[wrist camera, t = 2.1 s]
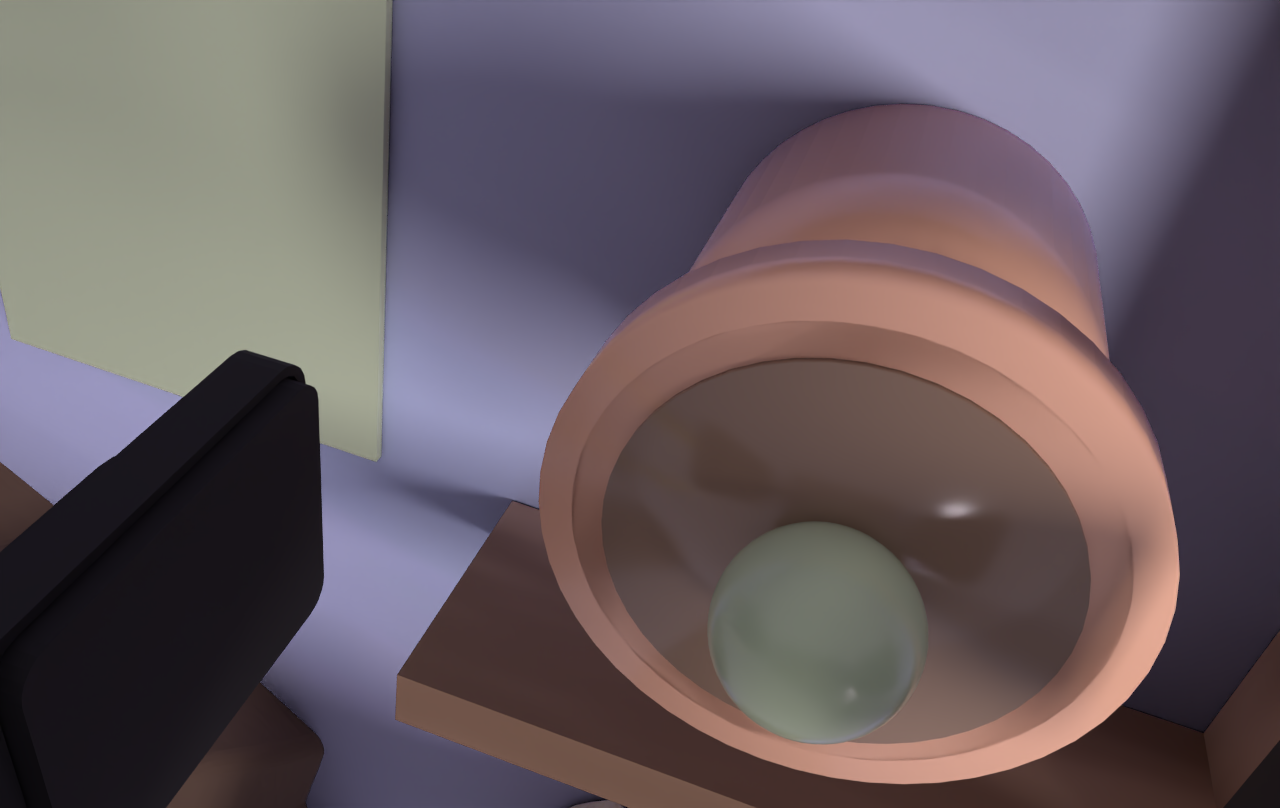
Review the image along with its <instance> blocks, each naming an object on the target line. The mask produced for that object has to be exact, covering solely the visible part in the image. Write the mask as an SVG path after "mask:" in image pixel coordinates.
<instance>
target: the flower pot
mask: <svg viewBox="0 0 1280 808" xmlns="http://www.w3.org/2000/svg"><path fill="white" fill-rule="evenodd" d="M570 808H624V807H622V806H621V805H620V804H618V803H615V802H612V801H607V800H606V801H595V802H588V803H583V804H579V805H575V806H573V807H570Z"/></svg>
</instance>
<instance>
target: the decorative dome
mask: <svg viewBox="0 0 1280 808" xmlns="http://www.w3.org/2000/svg"><path fill="white" fill-rule="evenodd" d="M53 506H54V505H53V504H51V503H50V502H49V501H48V500H46V499H45V498H44V497H43V496H41V495H40V494H39V493H38V492H37V491H35V490H34V489H33V488H32V487H30V486H29V485H28V484H27V483H26V482H24V481H23V480H22V479H21V478H19V477H18V476H17V475H16V474H14V473H13V472H12V471H11V470H9V469H8V468H7V467H6V466H4V465H3V464H2V463H1V462H0V552H1V551H2V550H3V549H4V548H5V547H7V546H8V545H9V544H10V543H11V542H12V541H13V540H15V539H16V538H17V537H18V536H19V535H20V534H22V533H23V532H24V531H25V530H26V529H27V528H28V527H30V526H31V525H32V524H33V523H34V522H35V521H37V520H38V519H39V518H40V517H41V516H42V515H43V514H45V513H46V512H47V511H48V510H49V509H50V508H52V507H53ZM323 755H324V748H323V744H322V742H321V740H320V739H319V737H318V736H317V735H316V734H315V733H314V732H313V731H312V730H311V729H310V728H309V727H308V726H307V725H306V724H305V723H304V722H302V721H301V720H300V719H299V718H298V717H297V716H296V715H295V714H294V713H293V712H291V711H290V710H289V709H288V708H287V707H286V706H285V705H284V704H283V703H282V702H281V701H280V700H279V699H277V698H276V697H275V696H274V695H273V694H272V693H271V692H270V691H269V690H268V689H266V688H265V687H264V686H263V685H262V684H261V683H259V684H258V685H257V687H256V688H255V689H254V691H253V692H252V693H251V695H250V696H249V697H248V699H247V700H246V701H245V703H244V704H243V705H242V707H241V708H240V709H239V711H238V712H237V713H236V715H235V716H234V717H233V719H232V720H231V721H230V723H229V724H228V725H227V727H226V728H225V729H224V731H223V732H222V734H221V735H220V736H219V738H218V739H217V740H216V742H215V743H214V744H213V746H212V747H211V748H210V750H209V751H208V752H207V754H206V755H205V756H204V758H203V759H202V760H201V762H200V763H199V764H198V766H197V767H196V768H195V770H194V771H193V772H192V774H191V775H190V776H189V778H188V779H187V781H186V782H185V783H184V785H183V786H182V787H181V789H180V790H179V791H178V793H177V794H176V795H175V797H174V798H173V799H172V801H171V802H170V803H169V805H168V806H167V807H166V808H307V806H306V799H307V796H308V794H309V791H310V788H311V786H312V783H313V781H314V778H315V776H316V773H317V771H318V768H319V766H320V763H321V760H322V758H323Z"/></svg>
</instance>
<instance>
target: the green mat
mask: <svg viewBox="0 0 1280 808" xmlns="http://www.w3.org/2000/svg"><path fill="white" fill-rule="evenodd" d="M391 40H392V0H0V288H1V293H2V298H3V302H4V307H5V312H6V316H7V321H8V325H9V330H10V335H11V339H13V340H16V341H19V342H22V343H25V344H28V345H31V346H34V347H37V348H40V349H43V350H46V351H49V352H52V353H55V354H58V355H61V356H64V357H66V358H69V359H72V360H75V361H78V362H81V363H84V364H87V365H90V366H93V367H96V368H99V369H102V370H105V371H108V372H111V373H114V374H117V375H120V376H123V377H126V378H129V379H132V380H135V381H138V382H141V383H144V384H147V385H149V386H152V387H155V388H158V389H161V390H164V391H167V392H170V393H173V394H176V395H179V396H182V397H184V396H185V395H186V394H187V393H188V392H190V391H191V390H192V389H193V388H194V387H195V386H197V385H198V384H199V383H200V382H201V381H202V380H203V379H205V378H206V377H207V376H208V375H209V374H210V373H211V372H213V371H214V370H215V369H216V368H217V367H218V366H219V365H221V364H222V363H223V362H224V361H225V360H226V359H227V358H229V357H230V356H231V355H233V354H234V353H236V352H237V351H241V350H248V351H251V352H254V353H258V354H261V355H264V356H267V357H271V358H274V359H277V360H280V361H284V362H287V363H290V364H293V365H296V366H298V367H300V368H301V369H302V371H303V373H304V375H305V382H306V384H308V385H311V386H313V387H315V389H316V391H317V393H318V400H319V433H320V443H321V444H324V445H327V446H330V447H333V448H336V449H339V450H342V451H345V452H348V453H351V454H354V455H357V456H360V457H363V458H366V459H369V460H372V461H375V462H377V461H378V460H379V459H380V457H381V441H382V401H383V361H384V321H385V281H386V241H387V201H388V160H389V120H390V80H391Z"/></svg>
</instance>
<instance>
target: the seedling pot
mask: <svg viewBox="0 0 1280 808" xmlns="http://www.w3.org/2000/svg"><path fill="white" fill-rule="evenodd" d="M539 509H540V519H541V529H542V535H543V539H544V543H545V547H546V551H547V555H548V559H549V562H550V565H551V567H552V570H553V572H554V575H555V577H556V580H557V582H558V585H559V587H560V590H561V591H562V593H563V595H564V597H565V599H566V601H567V602H568V604H569V606H570V608H571V610H572V611H573V613H574V615H575V617H576V618H577V620H578V621H579V622H580V624H581V625H582V627H583V628H584V630H585V631H586V632H587V634H588V635H589V637H590V638H591V639H592V641H593V642H594V643H595V645H596V646H597V647H598V648H599V649H600V650H601V651H602V652H603V654H604V655H605V656H606V657H607V658H608V659H609V660H610V661H611V663H612V664H613V665H614V666H615V667H616V668H617V669H618V670H619V671H620V672H621V673H622V674H623V675H625V676H626V677H627V678H628V679H629V680H630V681H631V682H632V683H633V684H634V685H635V686H636V687H638V688H639V689H640V690H641V691H642V692H644V693H645V694H646V695H647V696H649V697H650V698H651V699H653V700H654V701H655V702H657V703H658V704H659V705H661V706H662V707H663V708H665V709H666V710H667V711H669V712H670V713H672V714H674V715H675V716H677V717H678V718H680V719H682V720H683V721H685V722H686V723H688V724H689V725H691V726H693V727H694V728H696V729H698V730H700V731H702V732H703V733H705V734H707V735H709V736H711V737H713V738H715V739H717V740H719V741H721V742H723V743H725V744H727V745H729V746H732V747H734V748H736V749H739V750H741V751H744V752H746V753H749V754H751V755H753V756H756V757H758V758H761V759H764V760H767V761H770V762H773V763H777V764H780V765H783V766H786V767H789V768H792V769H796V770H800V771H805V772H809V773H814V774H818V775H822V776H827V777H832V778H839V779H846V780H853V781H861V782H870V783H890V784H918V783H940V782H948V781H955V780H962V779H969V778H976V777H980V776H984V775H988V774H993V773H997V772H1001V771H1005V770H1009V769H1012V768H1015V767H1018V766H1020V765H1023V764H1026V763H1029V762H1031V761H1034V760H1037V759H1040V758H1042V757H1045V756H1047V755H1048V754H1050V753H1052V752H1054V751H1056V750H1058V749H1060V748H1062V747H1064V746H1066V745H1068V744H1070V743H1072V742H1074V741H1076V740H1077V739H1079V738H1080V737H1082V736H1083V735H1084V734H1086V733H1087V732H1089V731H1090V730H1092V729H1093V728H1095V727H1096V726H1098V725H1099V724H1100V723H1102V722H1103V721H1104V720H1105V719H1107V718H1108V717H1109V716H1110V715H1111V714H1112V713H1113V712H1114V711H1115V710H1116V709H1117V708H1118V707H1120V706H1121V705H1122V704H1123V703H1124V702H1125V701H1126V700H1127V699H1128V698H1129V697H1130V695H1131V694H1132V693H1133V692H1134V690H1135V689H1136V688H1137V687H1138V685H1139V684H1140V683H1141V681H1142V680H1143V679H1144V678H1145V676H1146V675H1147V674H1148V673H1149V671H1150V669H1151V667H1152V665H1153V663H1154V662H1155V660H1156V658H1157V656H1158V654H1159V652H1160V650H1161V649H1162V647H1163V645H1164V643H1165V640H1166V637H1167V634H1168V631H1169V628H1170V625H1171V622H1172V619H1173V616H1174V613H1175V609H1176V601H1177V593H1178V585H1179V577H1180V570H1179V554H1178V538H1177V533H1176V527H1175V522H1174V516H1173V510H1172V505H1171V499H1170V494H1169V488H1168V482H1167V477H1166V473H1165V469H1164V465H1163V461H1162V457H1161V453H1160V449H1159V445H1158V442H1157V439H1156V437H1155V435H1154V432H1153V430H1152V428H1151V426H1150V423H1149V421H1148V419H1147V416H1146V414H1145V412H1144V409H1143V407H1142V406H1141V404H1140V403H1139V401H1138V400H1137V398H1136V396H1135V395H1134V393H1133V392H1132V390H1131V389H1130V387H1129V385H1128V384H1127V382H1126V381H1125V379H1124V378H1123V376H1122V374H1121V373H1120V372H1119V371H1118V370H1117V369H1116V368H1115V366H1114V365H1113V364H1112V363H1111V362H1110V360H1109V352H1108V344H1107V336H1106V328H1105V319H1104V311H1103V303H1102V295H1101V287H1100V279H1099V270H1098V262H1097V254H1096V248H1095V245H1094V241H1093V237H1092V233H1091V229H1090V226H1089V223H1088V221H1087V219H1086V216H1085V214H1084V212H1083V209H1082V207H1081V205H1080V203H1079V201H1078V200H1077V198H1076V197H1075V195H1074V193H1073V192H1072V190H1071V188H1070V187H1069V185H1068V184H1067V182H1066V181H1065V180H1064V179H1063V178H1062V176H1061V175H1060V174H1059V173H1058V172H1057V170H1056V169H1055V168H1054V167H1053V166H1052V165H1051V163H1050V162H1048V161H1047V160H1046V159H1045V158H1044V157H1043V156H1042V155H1041V154H1039V153H1038V152H1037V151H1036V150H1035V149H1034V148H1033V147H1032V146H1030V145H1029V144H1027V143H1026V142H1024V141H1023V140H1021V139H1020V138H1018V137H1017V136H1015V135H1014V134H1012V133H1011V132H1009V131H1007V130H1005V129H1003V128H1001V127H999V126H997V125H995V124H993V123H991V122H989V121H987V120H985V119H982V118H979V117H976V116H973V115H970V114H967V113H964V112H961V111H958V110H953V109H947V108H942V107H937V106H932V105H917V104H890V105H876V106H871V107H866V108H860V109H855V110H850V111H847V112H844V113H841V114H838V115H835V116H832V117H829V118H826V119H824V120H821V121H819V122H817V123H815V124H813V125H811V126H809V127H807V128H805V129H803V130H801V131H800V132H798V133H797V134H795V135H794V136H792V137H791V138H789V139H788V140H786V141H784V142H783V143H781V144H780V145H779V146H778V147H777V148H776V149H774V150H773V151H772V152H771V153H770V154H769V155H768V156H766V157H765V158H764V159H763V160H762V161H761V162H760V163H759V164H758V166H757V167H756V168H755V169H754V170H753V171H752V173H751V174H750V175H749V176H748V177H747V178H746V180H745V182H744V183H743V185H742V186H741V188H740V189H739V191H738V192H737V194H736V195H735V197H734V199H733V200H732V202H731V203H730V205H729V207H728V208H727V210H726V212H725V213H724V215H723V216H722V218H721V220H720V221H719V223H718V225H717V226H716V228H715V230H714V231H713V233H712V234H711V236H710V238H709V239H708V241H707V243H706V244H705V246H704V247H703V249H702V251H701V252H700V254H699V256H698V257H697V259H696V260H695V262H694V264H693V265H692V267H691V269H690V270H689V272H688V273H687V274H685V275H683V276H681V277H680V278H678V279H677V280H675V281H673V282H672V283H670V284H668V285H667V286H665V287H664V288H662V289H660V290H659V291H657V292H656V293H654V294H653V295H652V296H650V297H649V298H648V299H647V300H646V301H645V302H643V303H642V304H641V305H640V306H639V307H637V308H636V309H635V310H634V311H633V312H632V313H630V314H629V315H628V316H627V317H626V318H625V319H624V321H623V322H622V323H621V324H620V325H619V326H618V327H617V329H616V330H615V331H614V332H613V333H612V334H611V336H610V337H609V338H608V339H607V340H606V341H605V343H604V344H603V346H602V347H601V349H600V350H599V352H598V353H597V355H596V356H595V358H594V359H593V361H592V362H591V364H590V365H589V367H588V368H587V369H586V371H585V372H584V374H583V375H582V377H581V378H580V380H579V381H578V383H577V384H576V386H575V387H574V389H573V391H572V392H571V394H570V395H569V397H568V399H567V400H566V402H565V404H564V405H563V407H562V408H561V410H560V412H559V414H558V416H557V418H556V421H555V423H554V426H553V428H552V431H551V433H550V436H549V438H548V441H547V444H546V449H545V453H544V458H543V462H542V467H541V471H540V488H539Z"/></svg>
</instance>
